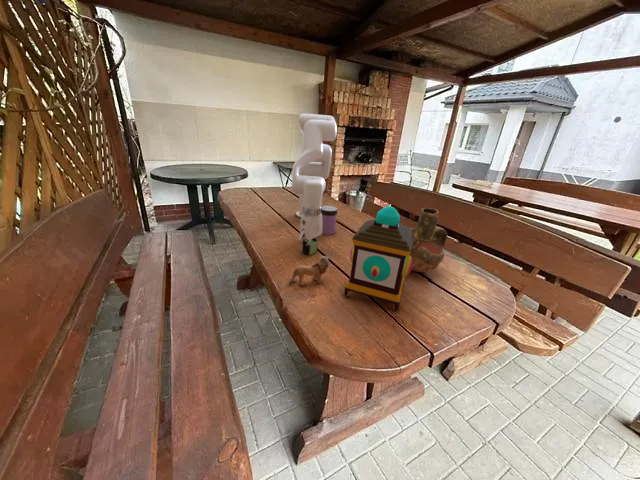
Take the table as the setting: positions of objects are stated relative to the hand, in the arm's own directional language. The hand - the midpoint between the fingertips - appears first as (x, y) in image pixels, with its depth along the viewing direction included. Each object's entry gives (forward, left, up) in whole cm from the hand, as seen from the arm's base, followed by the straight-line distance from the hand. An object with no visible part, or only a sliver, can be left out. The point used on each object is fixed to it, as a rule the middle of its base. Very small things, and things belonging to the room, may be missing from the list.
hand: (309, 250), depth 114 cm
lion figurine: (+18, +15, -1) cm, 23 cm away
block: (0, 0, -1) cm, 1 cm away
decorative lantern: (+7, +35, -1) cm, 36 cm away
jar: (-25, -9, -1) cm, 27 cm away
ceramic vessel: (-18, +40, -1) cm, 44 cm away
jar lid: (-25, -9, +12) cm, 29 cm away
